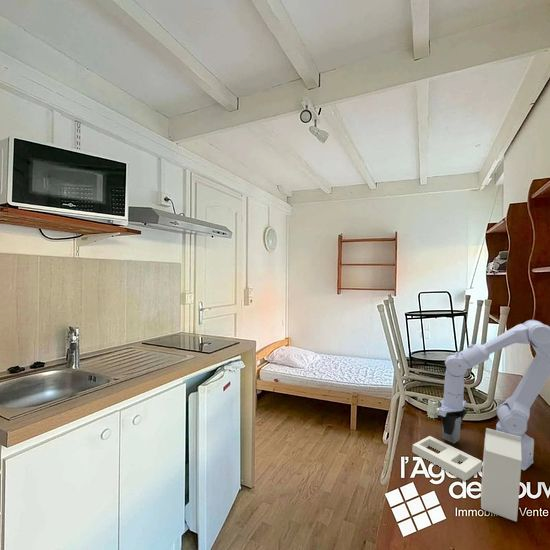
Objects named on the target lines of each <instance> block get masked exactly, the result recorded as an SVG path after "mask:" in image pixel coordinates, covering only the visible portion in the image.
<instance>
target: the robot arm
mask: <svg viewBox="0 0 550 550" xmlns="http://www.w3.org/2000/svg"><path fill="white" fill-rule="evenodd" d="M515 344H526V345H529V344H530V345H531V346H532V348H533V350H534V351H535V356H534V358H533V359H532V361H531V363H530V364H529V366H528V368H527V369H526V371H525V372H524V374H523V376H522V378H521V380H520V382H519V383H518V385H517V386H516V388H515V390H514V391H513V393H512V394H511V396H510V397H508V398H506V400H505V401H504V402H503V403H501V404H499V405H498V406H497V408H496V412H495V413H496V416H497V417H498V419H499V420H498V422H497V423H496V426H495V430H496V431H500V432H504V433H508V434H511V435H515V436H519V437H521V455H522V462H521V471H526V470H527V469H528V468H529V467H531V465H532V464H534V453H535V452H534V450H535V439H534V438H533V437H530V436H529V435H527V434H526V432H527V430H528V421H529V419H530V413H531V407H532V406H533V404H534V402H535V401H536V400H537V397H538V396H539V394H540V392H541V391H542V389H543V387H544V386H545V384H546V382H547V381H548V379H549V378H550V326H549V325H547V324H544V323H542V321H539V320H536V319H529V320H526V321H525V322H523V323H519V324H516V325H515V326H514V327H511V328H509V329H508V330H507V331H505V332H503V333H501V334H500V335H498V336H496V337H494V338H493V339H491V340H488V341H487V342H486V343H483V344H481V343H474V344H472V343H470V344H468V347H467V348H465V349H463V350H461V351H456V352H454V354H451V355H448V356H446V359H445V360H444V365H445V367H446V368H445V374H444V375H445V376H444V382H443V383H444V385H443V399H442V400H439V403H440V404H441V405H440V407H438V408H439V410H438V416H439V418H440V420H441V423H442V424H443V429H444V433H446V434H449V435H451V434H452V431H453V426H454V423H455V421H456V419H457V418H458V417H457V416H454V415H452V413H453V414H456V415H458V416H461V422H462V423H463V419H464V417H465V416H466V415H467V413H468V412H467V410H466V409H464V408H466V407H467V401H466V400H464V392H465V390H464V389H465V379H464V378H465V375H466V373H467V371H468V369H470V370H471V369H472V368H474V367H476V366H478V365H480V364H482V363H484V362H486V361H488V360H489V359H490V356H491V354H493V353H495V352H497V351H500V350H502V349H504V348H507V347H509V346H511V345H515Z"/></svg>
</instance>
